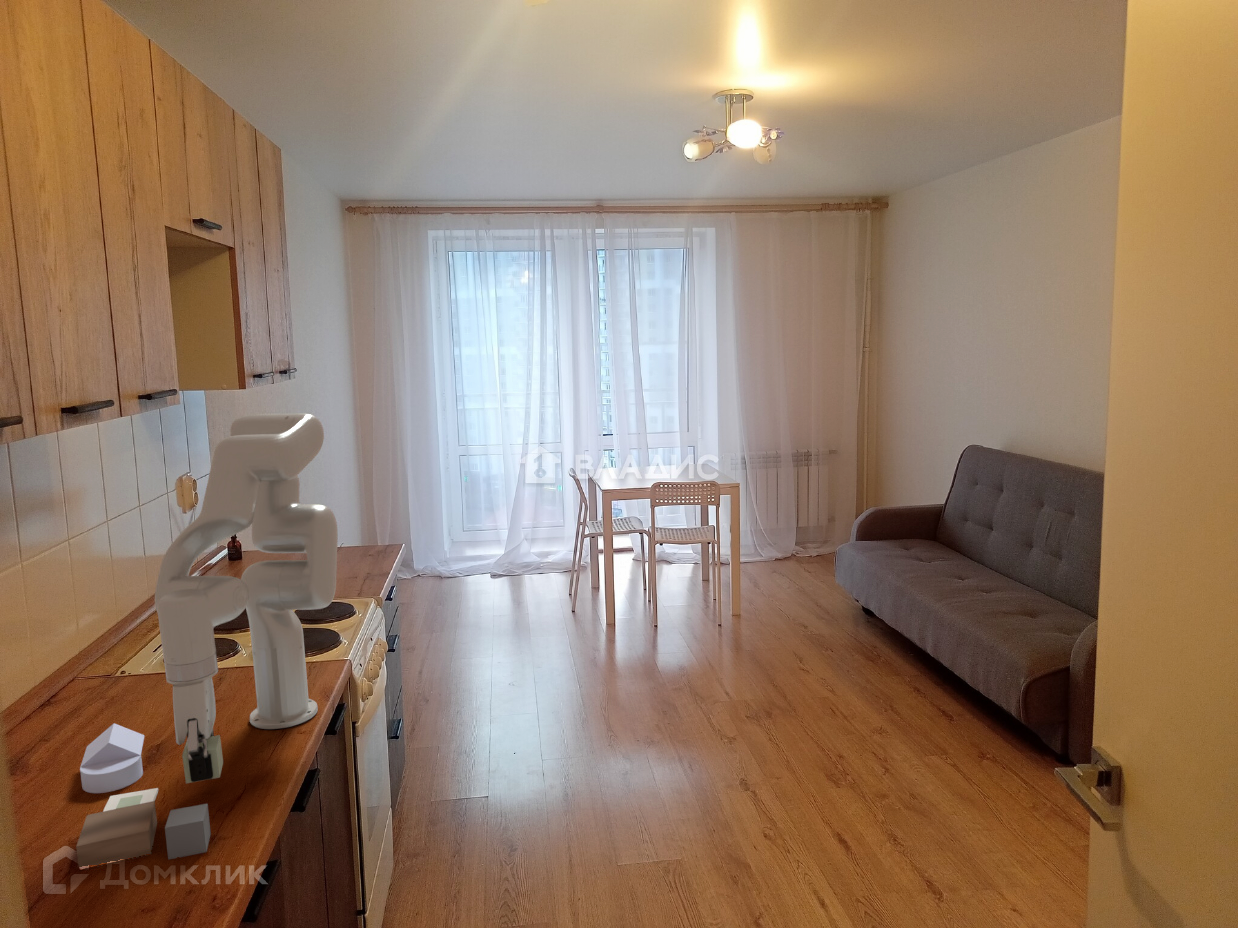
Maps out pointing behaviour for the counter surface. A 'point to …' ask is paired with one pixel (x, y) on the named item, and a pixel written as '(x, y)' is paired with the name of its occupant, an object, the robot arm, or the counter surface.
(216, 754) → the sage cube
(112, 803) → the tile
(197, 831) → the charcoal cube
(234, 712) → the counter surface
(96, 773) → the wedge on round base
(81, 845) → the taupe block
